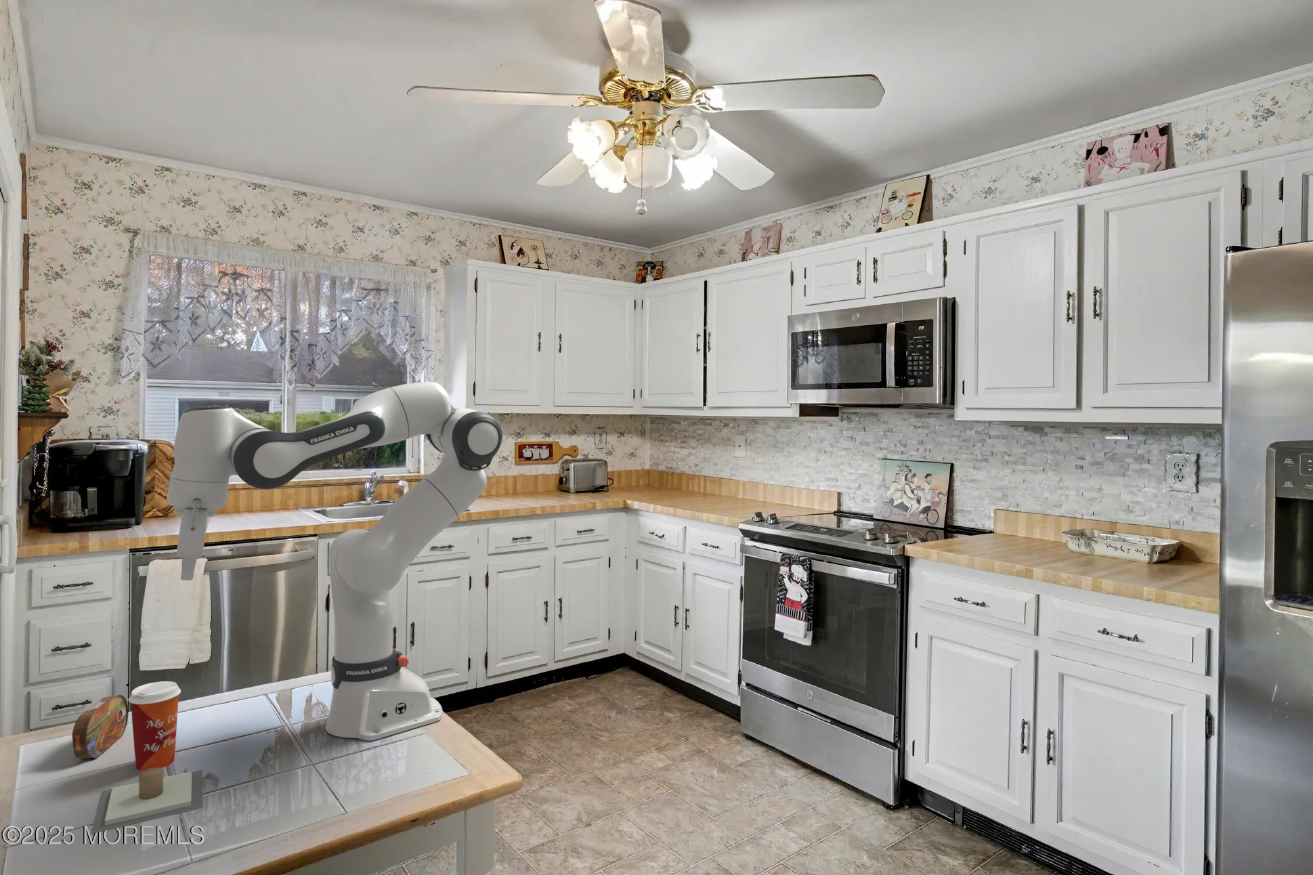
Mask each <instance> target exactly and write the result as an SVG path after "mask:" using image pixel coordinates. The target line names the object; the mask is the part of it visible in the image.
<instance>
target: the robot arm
mask: <svg viewBox="0 0 1313 875" xmlns="http://www.w3.org/2000/svg"><path fill="white" fill-rule="evenodd" d="M175 433H176V434H175V438H174V443H173V444H174V445H173V446H174V447H173V452H172V453H173V458H174V465H173V469H172V471H171V473H170V475H169V476H170V477H169V483H168V491H167V499H166V503H167V505H169V506H172V507H174V512H173V513H174V515H176V516H181V517H180V524H179V532H178V542H177V546H176V556H177V557H178V558H181V572H180V580H182V581H193V579H194V575H195V569H196V564H197V562H198V561H197V560H198V559H200V558H201V557H202V556H203V554H204V546H205V540H206V539H205V538H206V533H207V530H208V526H209V522H210V519H211V517H216V516H217V513H218V509H222V508H225V507H226V505H227V498H228V489H229V484H230V482H229V481H230V478H231V476H238V477H239V479H241V480H242V481H243V482H244V483H245V484H247V485H248V486H250V487H253V488H255V489H256V488H257V489H261V490H272V489H277V488H280V487H283V486H285V485H286V484H287V483H289V482H290V481H292V480H293V479H294V478H296V477H297V476H298V475H299V474H300V473H302V472H303V471H304V470H306V469H307V468H309V467H310V466H313V465H315V464H318V463H321V462H323V461H325V460H329V459H332V458H336V457H337V456H342V455H344V454H346V453H349V452H352V451H356V450H361V449H364V448H372V447H373V448H374V447H380V446H387V445H391V444H394V443H399V442H402V441H405V440H410V439H411V438H415V437H417V436H419V435H420V436H421V435H425V436H426V438H427V440H428V441H429V443H430V444H431V446H432V447H433V448H434V449H435V450H436V451H438V452H440V453H441V454H444V455H443V458H442V459H441V462H440V463H439V465H438V466H437V467H435V470H433V471H432V472H430V473H429V474H427V475H426V476H425V477H423V478H422V480H420V481H419V482H418V483H416V484H415V485H413V487H411V488H410V489H409V490H407V491H406V492H405V493H404V494H401V496H400V497H399V498H398V499H396V500H395V501H394V502H392V504H391V505H390V507H389V509H388V510H387V511H386V512H385V514H384V515H383V516H382V517H381V518H380V519H379V521H378V522H376V523H375V524H374V526H373V527H372V528H371V529H369V530H368V529H362V528H357V529H350V530H347V531H344V532H342V533H341V534H339V535H338V536H336V538H334V540H332V543H331V545H330V548H329V550H328V551H329V552H328V556H329V557H328V559H329V575H330V576H329V578H330V579H329V580H330V588H331V599H332V600H331V601H332V606H333V615H334V616H333V618H334V655H333V657H332V658H331V659H332V660H331V667H330V668H331V676H330V677H331V678H330V679H331V680H330V681H331V685H332V695H331V703H330V709H329V713H328V717H327V720H326V723H325V727H324V728H325V730H326V732H328V734H330V735H332V736H335V737H339V738H350V739H354V738H355V739H360V740H364V741H370V742H372V741H376V740H378V739H383V738H385V737H388V736H389V737H390V736H391V735H392V736H393V735H395V734H398V733H403V732H406V731H408V730H413V729H416V728H418V727H422V726H425V725H429V724H432V723H435V722H438V721H440V720H441V719H442V718H443V707H442V705H441V704H440V703H439V701H438V700H436V698H433V697H432V696H431V693H430V689H429V686H428V684H427V683H426V681H425V680H424V679H423V678H422V677H420V676H419V675H417V674H416V673H414V672H412V671H410V670H409V669H407V668H406V667H407V666H408V665H409V664H410V659H409V658H408V657H407V656H406V654H405V655H404V654H403V653H402V652H400V651H398V650H397V649H396V648H394V644H393V642H394V641H393V640H394V637H393V636H394V630H393V629H394V613H393V609H392V604H391V599H390V594H389V591H392V589H394V587H396V586H397V584H398V583H399V582H400V581H401V578H402V575H403V573H404V572H405V571H406V569H407V568H408V567H409V566H410V565H411V564H412V562H414V560H415V559H416V558H417V557H418V555H419V554H420V553H421V552H422V551H423V549H424V548H425V547H427V545H428V544H429V543H430V542H431V541H432V540H433V539H434V538H436V537H437V536H438V535H439V534H440V533H441V532H442V531H443V530H445V529H446V528H447V527H448V526H449V525H451V524H452V523H453V522H454V521H456V519H457V518H459V517H460V516H461V515H462V514H464V513H465V511H467V510H468V509H469V507H470V506H472V504H473V503H475V501H476V500H477V499H478V498H479V496H480V495H481V494H482V493H483V491H484V490H485V489H486V487H487V485H488V484H487V481H488V480H487V475H486V474H487V473H486V472H485V469H487V468H488V467H489V466H490V465H491V464H492V460H493V459H494V457H495V456H496V455H497V453H498V451H499V450H500V448H501V446H502V443H503V431H502V428H501V425H500V424H499V423H498V421H497V420H496V419H495V418H494V417H492V415H490V414H488V413H486V412H482V411H480V410H479V411H478V410H475V409H472V408H467V407H457V406H454V405H453V404H452V403H451V398H450V396H449V394H448V392H447V391H446V389H445V388H444V387H443V386H442V385H441V384H439V383H438V382H435V381H419V382H411V383H410V382H409V383H405V384H398V385H394V386H391V387H386V388H384V389H380V390H377V391H374V392H372V393H369V394H367V395H366V396H363V397H360V398H359V399H357V400H355V402H354V403H353V404H352V407H351V409H350V410H349V411H348V413H346V414H345V415H344V416H342V417H340V418H338V419H335V420H331V421H328V422H325V423H323V424H319V425H316V426H313V427H309V428H307V429H302V430H300V431H296V432H281V431H274V430H272V429H268V428H266V427H263V426H262V425H259V424H257V423H255V422H253V421H251V420H250V419H248V418H246V417H245V416H243V415H241V414H240V413H238V412H237V411H236V410H235V409H234V407H232V406H229V405H222V404H220V405H215V404H214V405H210V404H209V405H200V406H193V407H191V408H188V409H186V410H185V411H184V412H183V413H182V414H181V416H180V418H179V421H178V425H177V429H176V432H175ZM433 706H434V707H433Z"/></svg>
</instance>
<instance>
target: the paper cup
mask: <svg viewBox="0 0 1313 875" xmlns="http://www.w3.org/2000/svg"><path fill="white" fill-rule="evenodd" d="M181 692H182V690H181V688H180V687H179V685H178V684H177V682H175V681H167V680H165V681H163V680H162V681H156V682H149V683H145V684H143V685H139V686H137V687H135V688H134V689H133V690H132V691H131V692H130V696H129V697H128V701H127V702H129V703H130V708H131V709H130V710H131V711H130V712H131V723H132V735H133V737H132V738H133V748H134V758H135V767H136V770H137V771H140V772H143V771H145V770H147V769H151V768H162V769H164V768H166V767H167V766H170V765H171V764H173V763H174V762H175V755H176V744H177V730H178V728H177V727H178V713H179V695H180V694H181Z"/></svg>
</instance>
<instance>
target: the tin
mask: <svg viewBox="0 0 1313 875" xmlns="http://www.w3.org/2000/svg"><path fill="white" fill-rule="evenodd" d="M128 722H129V704H128V701H127V699H126V697H125V696H124V695H122V694H117V695H110V696H105V697H102V698H101V699H99V701H96V703H95V704H93V705H92V706H91V707H89V708H88V709H86V710H85V711H84V712H83V713H82V714H80V716H79V717H78V718H77V719H76V722H75V723H74V726H73V727H72V728H73V729H72V733H71V738H72V748H73V754H74V756H75V757H76V758H77V759H79V760H86V759H98V758H100V757H101V756H102V755H103V754H104V753H105V752H106V751H108V750H109V749H110V748H111V747H112V746H113V745H114V744H115V743H116V742H118V741H119V740H120V739H121V738H122V737H123V736H124V733H125V731H126V728H127V726H128ZM100 755H101V756H100Z"/></svg>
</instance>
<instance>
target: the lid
mask: <svg viewBox="0 0 1313 875" xmlns="http://www.w3.org/2000/svg"><path fill="white" fill-rule="evenodd" d="M192 772H193V771H192V770H191V771H187V772H182V773H177V774H173V775H167V776H164V768H151V769H147V770H145V771H140V773H139V774H138V782H134V783H129V784H125V785H120V786H115V787H112V788H111V789H112V792H111V796H110V801H109V805H108V809H107V813H106V818H105V826H106V825H110V824H115V823H119V822H123V821H128V820H132V819H136V818H141V817H145V816H149V815H153V814H158V813H162V812H166V811H171V810H175V809H179V808H184V807H188V806H191V789H192Z"/></svg>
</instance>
